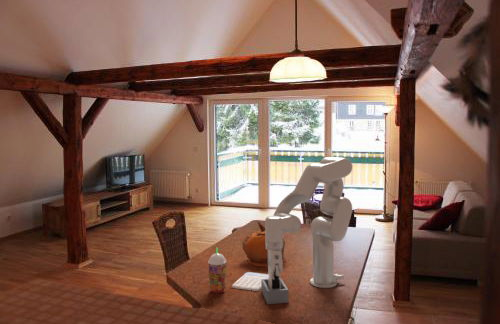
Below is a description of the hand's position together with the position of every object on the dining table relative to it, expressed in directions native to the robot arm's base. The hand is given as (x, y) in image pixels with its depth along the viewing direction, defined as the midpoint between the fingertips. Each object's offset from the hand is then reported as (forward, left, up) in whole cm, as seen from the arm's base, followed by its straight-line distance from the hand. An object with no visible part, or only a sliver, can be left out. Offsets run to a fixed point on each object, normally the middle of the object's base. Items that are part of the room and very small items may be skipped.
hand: (274, 285), depth 169 cm
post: (0, 0, -3) cm, 3 cm away
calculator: (+7, -19, -6) cm, 21 cm away
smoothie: (+24, -11, -5) cm, 27 cm away
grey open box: (0, 0, -5) cm, 5 cm away
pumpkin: (-6, -51, -5) cm, 52 cm away
